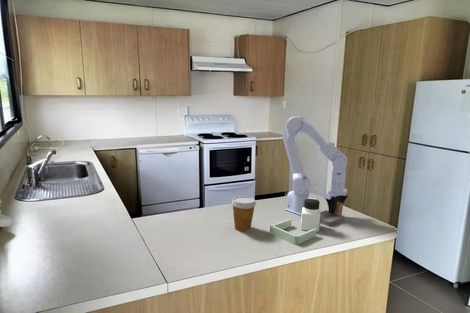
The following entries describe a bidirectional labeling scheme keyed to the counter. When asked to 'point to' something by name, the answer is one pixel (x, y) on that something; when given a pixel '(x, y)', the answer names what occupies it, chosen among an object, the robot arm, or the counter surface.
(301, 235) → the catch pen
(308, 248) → the counter surface
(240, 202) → the disposable coffee cup
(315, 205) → the medicine bottle
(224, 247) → the counter surface
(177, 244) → the counter surface
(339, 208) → the scraper
